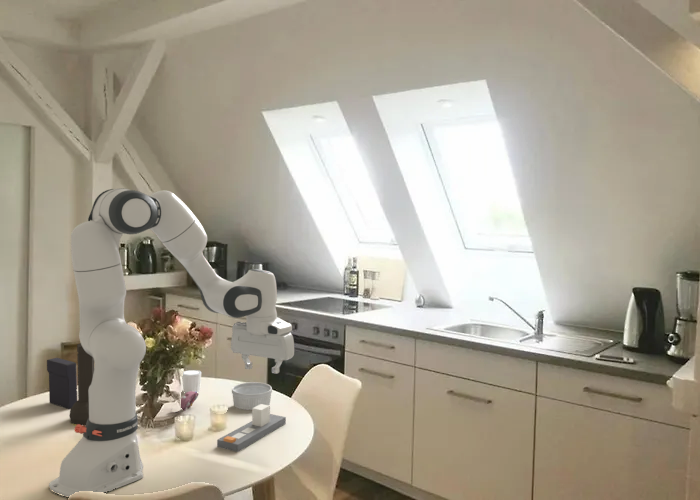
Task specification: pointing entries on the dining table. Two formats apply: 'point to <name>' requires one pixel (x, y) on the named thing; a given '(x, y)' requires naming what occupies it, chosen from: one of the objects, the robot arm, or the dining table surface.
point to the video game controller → (188, 399)
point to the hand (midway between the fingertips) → (262, 370)
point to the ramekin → (251, 395)
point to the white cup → (191, 380)
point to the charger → (261, 415)
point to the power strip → (249, 434)
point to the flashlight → (82, 387)
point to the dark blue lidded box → (62, 382)
